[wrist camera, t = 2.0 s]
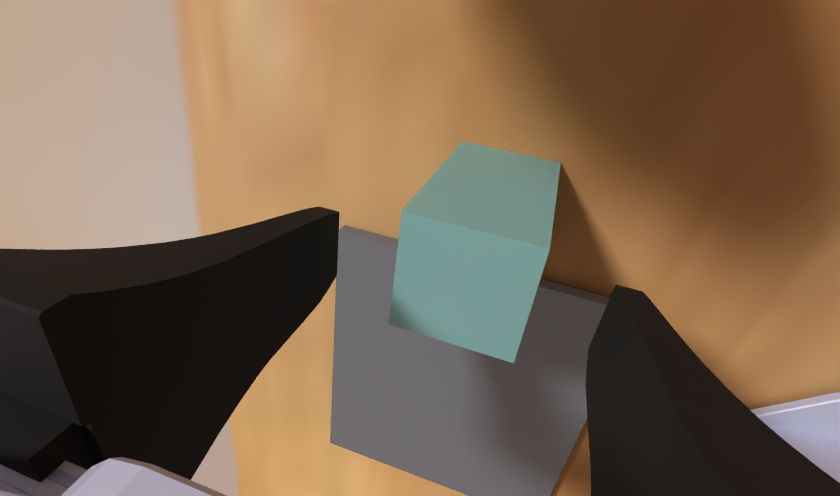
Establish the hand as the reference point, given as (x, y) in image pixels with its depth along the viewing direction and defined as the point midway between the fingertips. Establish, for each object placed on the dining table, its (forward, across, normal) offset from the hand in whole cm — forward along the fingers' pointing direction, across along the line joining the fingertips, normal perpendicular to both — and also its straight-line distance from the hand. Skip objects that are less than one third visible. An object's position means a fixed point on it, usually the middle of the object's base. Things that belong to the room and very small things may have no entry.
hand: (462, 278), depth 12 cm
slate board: (+6, 0, +10) cm, 12 cm away
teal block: (+6, 0, 0) cm, 6 cm away
